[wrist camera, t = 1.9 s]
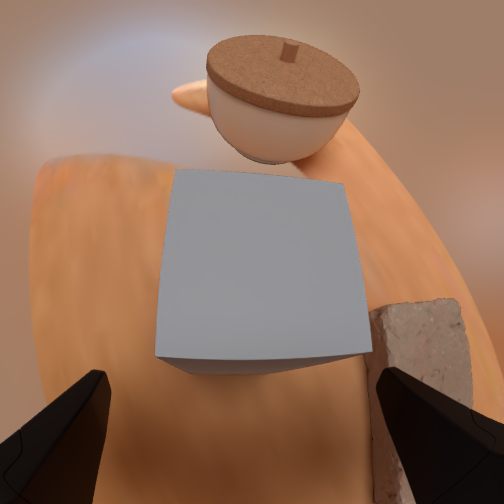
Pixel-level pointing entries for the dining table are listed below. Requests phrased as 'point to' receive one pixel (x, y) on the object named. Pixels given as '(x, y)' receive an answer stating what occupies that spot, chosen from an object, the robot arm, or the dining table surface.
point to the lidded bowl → (277, 96)
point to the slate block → (259, 275)
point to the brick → (414, 374)
